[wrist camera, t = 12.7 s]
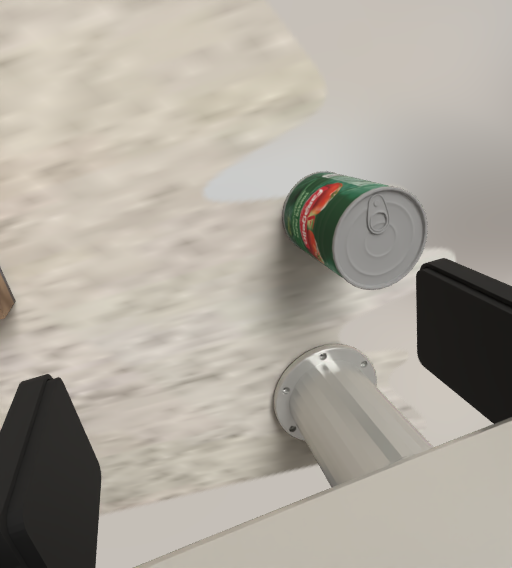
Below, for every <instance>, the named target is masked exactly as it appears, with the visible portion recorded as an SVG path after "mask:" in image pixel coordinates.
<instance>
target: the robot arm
mask: <svg viewBox="0 0 512 568" xmlns="http://www.w3.org/2000/svg"><path fill="white" fill-rule="evenodd" d="M416 297H417V354H418V358H419V360H420V362H421V364H422V365H423V366H424V367H425V368H426V369H427V370H429V371H430V372H431V373H432V374H434V375H435V376H436V377H437V378H438V379H440V380H441V381H442V382H443V383H445V384H446V385H447V386H448V387H449V388H451V389H452V390H453V391H454V392H456V393H457V394H458V395H459V396H461V397H462V398H463V399H464V400H465V401H467V402H468V403H469V404H470V405H472V406H473V407H474V408H475V409H476V410H478V411H479V412H480V413H481V414H483V415H484V416H485V417H486V418H487V419H489V420H490V421H491V422H492V423H494V424H493V425H490V426H488V427H485V428H483V429H480V430H478V431H475V432H472V433H470V434H467V435H464V436H462V437H459V438H457V439H454V440H452V441H449V442H446V443H444V444H442V445H439V446H436V447H433V446H432V445H431V444H430V443H429V442H428V441H427V440H426V439H425V438H424V437H423V436H422V434H421V433H420V432H419V431H418V430H417V429H416V428H415V427H414V426H413V425H412V424H411V423H410V422H409V421H408V420H407V419H406V418H405V417H404V416H403V415H402V413H401V412H400V411H399V410H398V409H397V408H396V407H395V406H394V405H393V404H392V403H391V402H390V401H389V400H388V399H387V398H386V397H385V396H384V395H383V394H382V393H381V391H380V390H379V389H378V388H377V377H376V371H375V369H374V367H373V364H372V363H371V362H370V360H369V359H368V358H367V357H366V356H365V355H364V354H363V353H362V352H361V351H359V350H357V349H356V348H354V347H351V346H348V345H343V344H330V345H324V346H320V347H317V348H315V349H312V350H310V351H308V352H306V353H305V354H303V355H302V356H300V357H299V358H297V359H296V360H295V361H294V362H293V363H292V364H291V365H290V366H289V367H288V368H287V369H286V371H285V372H284V373H283V375H282V377H281V378H280V380H279V382H278V384H277V387H276V390H275V394H274V411H275V414H276V417H277V419H278V421H279V423H280V425H281V426H282V428H283V429H284V430H285V431H286V432H287V433H288V434H290V435H291V436H293V437H295V438H297V439H300V440H304V441H306V443H307V445H308V446H309V448H310V450H311V452H312V453H313V455H314V457H315V459H316V461H317V462H318V464H319V466H320V468H321V469H322V471H323V473H324V475H325V476H326V478H327V480H328V482H329V483H330V485H331V487H332V488H330V489H327V490H325V491H322V492H320V493H317V494H315V495H312V496H310V497H307V498H305V499H302V500H300V501H297V502H295V503H292V504H290V505H287V506H285V507H282V508H280V509H277V510H275V511H272V512H270V513H267V514H265V515H262V516H260V517H257V518H255V519H252V520H250V521H247V522H245V523H242V524H240V525H237V526H235V527H232V528H230V529H227V530H225V531H222V532H220V533H218V534H215V535H212V536H210V537H207V538H205V539H203V540H200V541H198V542H195V543H192V544H190V545H188V546H185V547H183V548H180V549H178V550H175V551H173V552H170V553H168V554H166V555H163V556H161V557H158V558H156V559H154V560H151V561H149V562H146V563H144V564H141V565H139V566H136V567H134V568H512V286H510V285H507V284H505V283H502V282H500V281H498V280H496V279H493V278H491V277H488V276H486V275H484V274H481V273H479V272H477V271H474V270H472V269H470V268H467V267H465V266H462V265H460V264H458V263H455V262H453V261H451V260H448V259H445V258H442V259H438V260H435V261H431V262H428V263H425V264H423V265H422V266H421V268H420V270H419V271H418V272H417V274H416ZM100 490H101V470H100V466H99V463H98V460H97V458H96V456H95V453H94V451H93V449H92V447H91V444H90V442H89V440H88V438H87V435H86V433H85V431H84V428H83V426H82V424H81V422H80V419H79V417H78V415H77V413H76V410H75V408H74V406H73V403H72V401H71V399H70V397H69V394H68V392H67V390H66V388H65V385H64V383H63V381H62V379H61V378H59V377H58V378H55V379H53V378H52V377H51V376H50V375H49V374H46V375H43V376H39V377H36V378H32V379H29V380H26V381H22V382H21V383H20V384H19V387H18V389H17V392H16V394H15V397H14V399H13V401H12V404H11V406H10V409H9V411H8V414H7V416H6V419H5V421H4V424H3V426H2V429H1V431H0V568H95V564H96V549H97V534H98V520H99V505H100Z"/></svg>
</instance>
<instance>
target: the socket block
mask: <svg viewBox="0 0 512 568" xmlns="http://www.w3.org/2000/svg"><path fill="white" fill-rule="evenodd" d="M14 303H15V299H14V297H13V294H12V292H11V290H10V288H9V286H8V283H7V281H6V279H5V277H4V274H3V272H2V270H1V268H0V319H4V318H5V317H6V316H7V314H8V312H9V311H10V309H11V308H12V306H13V304H14Z"/></svg>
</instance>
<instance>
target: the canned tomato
mask: <svg viewBox="0 0 512 568" xmlns="http://www.w3.org/2000/svg"><path fill="white" fill-rule="evenodd" d="M283 224H284V228H285V231H286V234H287V235H288V237H289V238H290V240H291V241H292V242H293V243H294V244H295V245H296V246H298V247H299V248H301V249H302V250H304V251H305V252H307V253H308V254H309V255H311V256H312V257H314V258H315V259H316V260H318V261H320V262H321V263H322V264H324V265H325V266H327V267H328V268H329V269H331V270H332V271H333V272H335V273H337V274H338V275H339V276H341V277H343V278H344V279H345V280H346V281H347V282H348V283H350V284H352V285H353V286H355V287H358V288H361V289H366V290H376V289H382V288H385V287H388V286H391V285H392V284H394V283H396V282H398V281H399V280H401V279H402V278H403V277H405V276H406V275H407V274H408V273H409V272H410V271H411V270H412V269H413V267H414V266H415V264H416V263H417V262H418V260H419V258H420V256H421V254H422V252H423V249H424V246H425V243H426V239H427V232H428V231H427V218H426V214H425V211H424V209H423V206H422V204H421V203H420V202H419V200H418V199H417V198H416V197H415V196H414V195H413V194H411V193H410V192H408V191H406V190H404V189H402V188H398V187H393V186H388V185H383V184H379V183H375V182H371V181H366V180H361V179H357V178H353V177H348V176H344V175H340V174H336V173H333V172H328V171H327V172H316V173H312V174H310V175H308V176H306V177H304V178H303V179H301V180H300V181H299V182H298V183H297V184H296V185H295V186H294V187H293V188H292V189H291V191H290V193H289V194H288V196H287V198H286V201H285V203H284V208H283Z"/></svg>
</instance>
